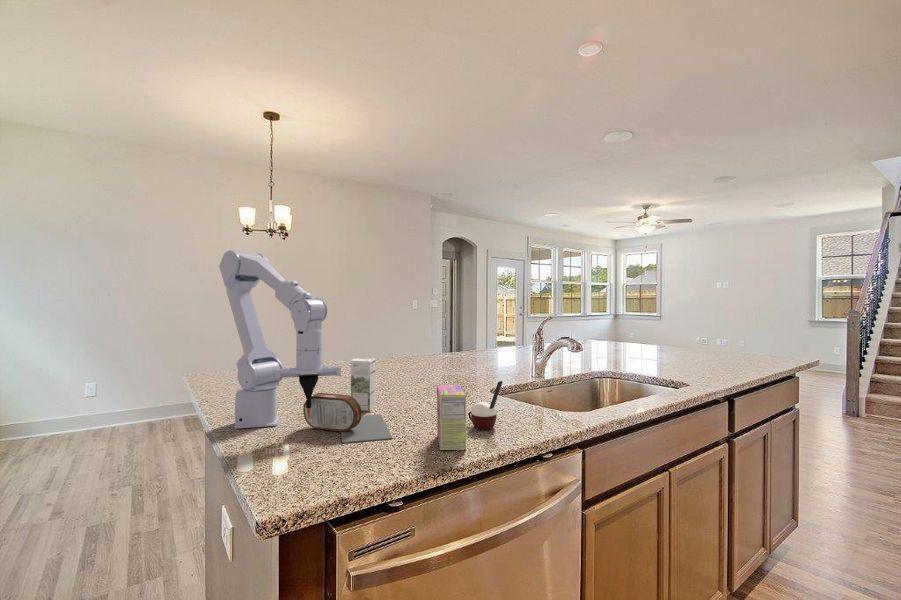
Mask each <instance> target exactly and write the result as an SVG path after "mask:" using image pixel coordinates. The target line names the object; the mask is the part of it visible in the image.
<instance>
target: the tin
mask: <svg viewBox="0 0 901 600" xmlns="http://www.w3.org/2000/svg"><path fill="white" fill-rule="evenodd" d="M302 409H303V410H302V411H303V418H304V420H305V421H306V423H307V424H308V425H309V426H310V427H311V428H314V429H315V430H322V431H323V430H324V431H333V432H334V431H335V432H340V433H341V432H345V431H349V430H351V429H352V428H354V427H356V426H357V425H358V424H359V422H360V420H361V416H363V413H362V412H363V411H361V407H360V405H359V403H358V402H357V401H356V400H355V399H354V398H353V397H351V395H348V394H339V393H338V394H337V393H328V392H318V393H315V394H312V396H311V408H306V401H304V403H303V408H302Z"/></svg>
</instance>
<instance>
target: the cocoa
mask: <svg viewBox="0 0 901 600" xmlns="http://www.w3.org/2000/svg"><path fill="white" fill-rule="evenodd" d="M502 384H503V380H500V381H497V384H496V387H495V391H494V394H493V395H492V400H491V402H490V403H488V402H485V401H480V402H478V403H475V404H473V406H472V407H471V411H469V412H468V414H467V415H468V418H469V421H471V422H472V425H473V427H474V428H476V429H477V428H478V429H477V430H479V429H483V430H482V431H488V430H487V429H489V430H491V429H493V428H494V427H495V424H496V423H497V412H498V409H496V407H495V406H496V403H497V400H498V396H499V393H500V390H501V388H502V386H503V385H502Z"/></svg>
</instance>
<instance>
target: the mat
mask: <svg viewBox="0 0 901 600" xmlns="http://www.w3.org/2000/svg"><path fill="white" fill-rule="evenodd" d="M340 435H341V436H340V437H341V438H340V439H341V443H342V444H352V443H361V442H375V441H387V440H393V436H392V434H391V432H390V430H389V429H388V426H387V424H386V421H385V420H384V418H383V416H382V414H368V415H362V416H361V420H360V422H359V424H358V425H357V426H356V427H354V428H352V429H351V430H349V431H345V432H341V431H340Z"/></svg>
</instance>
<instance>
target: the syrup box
mask: <svg viewBox="0 0 901 600" xmlns="http://www.w3.org/2000/svg"><path fill="white" fill-rule="evenodd" d="M350 396H351V397H353V398H354V399H355V400H356V401H357V402H358V403H359V405H360V407H361V412H372V410H373V409H374V408H375V407H376V358H375V357H354V358H352V359H351V360H350Z"/></svg>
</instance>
